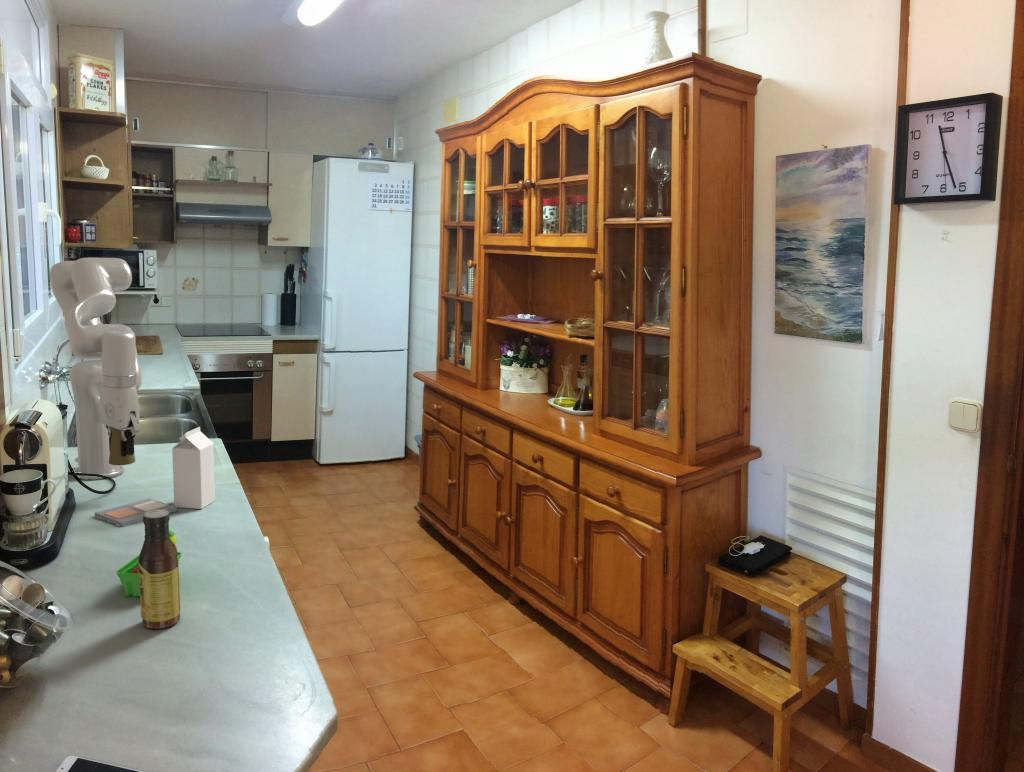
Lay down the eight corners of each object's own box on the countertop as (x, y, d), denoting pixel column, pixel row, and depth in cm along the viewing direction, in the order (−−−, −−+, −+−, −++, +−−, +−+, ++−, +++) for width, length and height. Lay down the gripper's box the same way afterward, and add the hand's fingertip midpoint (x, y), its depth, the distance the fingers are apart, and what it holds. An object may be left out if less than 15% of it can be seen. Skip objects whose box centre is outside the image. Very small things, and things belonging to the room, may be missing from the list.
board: (94, 516, 188) (94, 511, 188) (149, 502, 200) (149, 497, 199) (122, 526, 182) (122, 521, 182) (176, 511, 194) (176, 506, 194)
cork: (141, 460, 201) (139, 418, 199) (122, 466, 196) (120, 423, 193) (122, 456, 203) (120, 414, 201) (102, 462, 197) (101, 419, 195)
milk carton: (215, 501, 203) (213, 427, 199) (201, 509, 196) (199, 433, 192) (188, 499, 203) (186, 425, 200) (174, 507, 196) (171, 432, 193)
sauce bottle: (149, 614, 140) (144, 505, 137) (186, 614, 141) (182, 506, 138) (135, 632, 134) (129, 518, 131) (173, 632, 134) (169, 518, 131)
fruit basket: (145, 574, 157) (143, 519, 155) (190, 576, 157) (188, 521, 155) (115, 599, 146) (112, 540, 144) (163, 601, 146) (161, 542, 144)
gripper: (85, 377, 196) (88, 449, 200) (125, 389, 188) (127, 463, 191) (114, 373, 203) (116, 443, 206) (154, 384, 194) (156, 457, 198)
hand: (121, 452), depth 199 cm, fingers closed on cork, 4 cm apart
